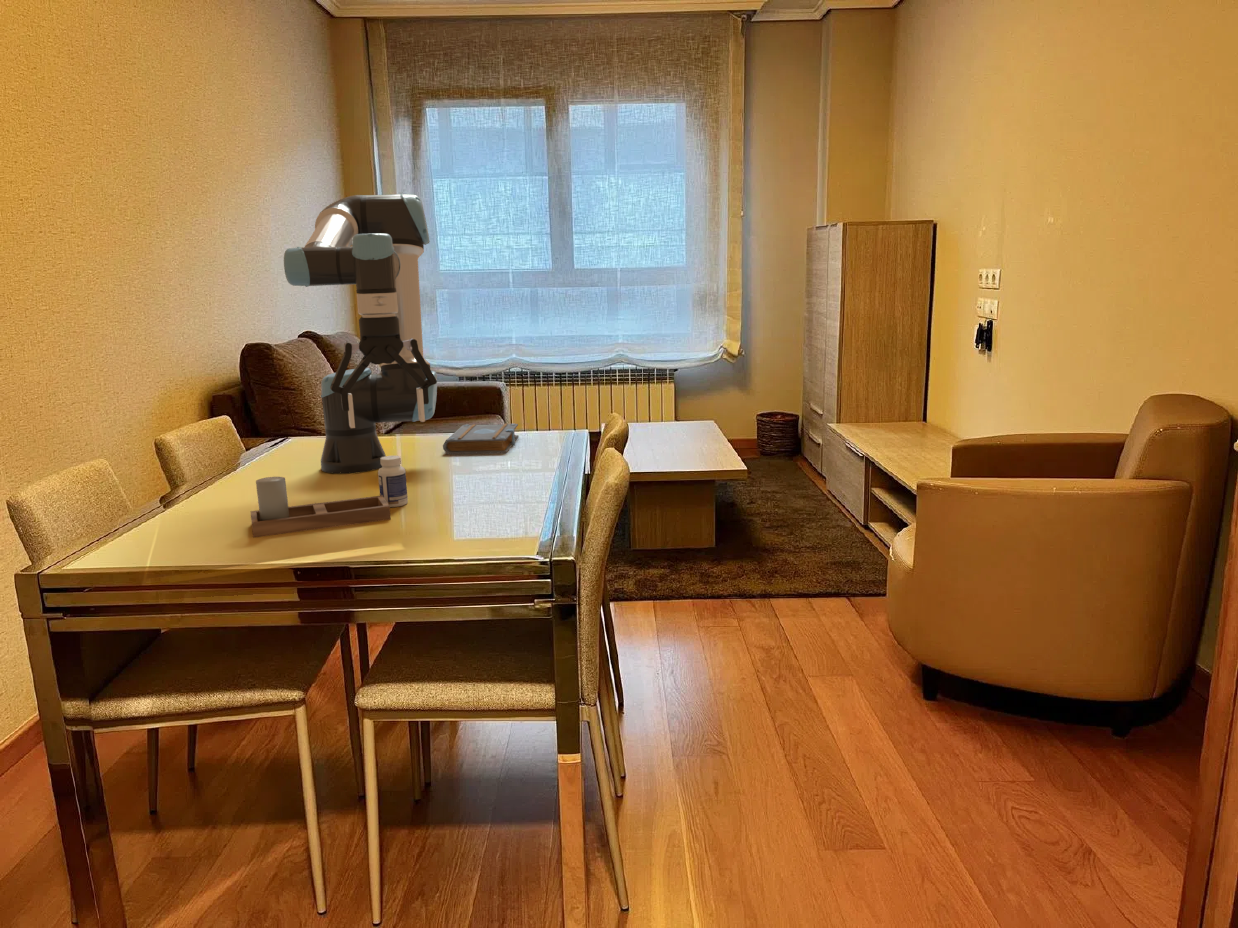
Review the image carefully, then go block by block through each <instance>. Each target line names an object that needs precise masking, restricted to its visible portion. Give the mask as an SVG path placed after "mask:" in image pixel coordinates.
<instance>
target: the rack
mask: <svg viewBox="0 0 1238 928" xmlns="http://www.w3.org/2000/svg"><path fill="white" fill-rule="evenodd" d="M288 509H289V518H281V519H273V520H265V521H260V513H259V509H258V510H251V511H250V520H251V521H250V522H251V529H252V537H253V538H259V537H267V536H274V535H275V536H276V535H283V534H290V533H291V534H292V533H298V532H305V531H312V530H320V529H328V528H329V529H330V528H335V527H342V526H350V525H358V524H367V523H374V522H381V521H387V520H388V521H389V520H391V518H392V517H391V507H390V506H389V505H388V503H387V502H386V500H385V499H384V497H383V496H382V495H381V496H380V495H374V496H368V497H367V496H366V497H358V498H351V499H350V498H349V499H341V500H335V501H325V502H318V503H316V502H315V503H309V504H300V505H291V506H288Z"/></svg>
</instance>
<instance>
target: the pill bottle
mask: <svg viewBox="0 0 1238 928" xmlns="http://www.w3.org/2000/svg"><path fill="white" fill-rule="evenodd" d="M380 464H381V466H382V468H379V469H377V470H378V471H377V477H378V489H379V496H381V495H382V496H383V497H384V499H385V500H386V502H387V503H388V505H389V506H390V508H398V507H402V506H406V505H407V504H408V502H409V500H408V499H409V498H408V486H407V485H408V484H407V478H406V477H407V476H406V472H407V471H406V469H405V467H404V466H401V464H402V458H401V456H400V455H386V456H385V457H382V458H380Z"/></svg>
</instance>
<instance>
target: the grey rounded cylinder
mask: <svg viewBox="0 0 1238 928" xmlns="http://www.w3.org/2000/svg"><path fill="white" fill-rule="evenodd" d="M286 482H287V481H286V477H283V476H268V477H263V478H259V479H257V480H255V485H256V493H257V496H256V497H257V503H258V510H259V513H260V521H265V520H273V519H281V518H289V509H288V507H289V502H288V501H289V500H288V491H287V484H286Z"/></svg>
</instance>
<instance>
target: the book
mask: <svg viewBox="0 0 1238 928" xmlns="http://www.w3.org/2000/svg"><path fill="white" fill-rule="evenodd" d="M518 426H519V424H518V423H506V422H505V423H502V424H497V423H496V424H476V423H473V424H462V425H461V426H460V427H459V428H458V429H456V431H455V432H453V433H452V434H451V435H450V436H449V437H448V438H446V440H445V441H444V443H443V444H442V449H443V450H444V452H445V454H446V455H478V454H479V455H485V454H507V453H508V452H509V451H510V449H511V448H512V447H513V446H515V445H516V442H517V439H519V436H520V435H519V434H517V435H516V434H515V430H516V429H517V427H518Z"/></svg>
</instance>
